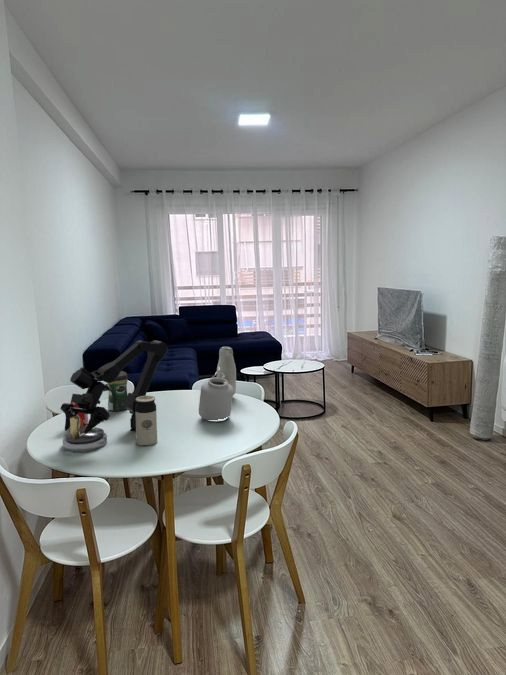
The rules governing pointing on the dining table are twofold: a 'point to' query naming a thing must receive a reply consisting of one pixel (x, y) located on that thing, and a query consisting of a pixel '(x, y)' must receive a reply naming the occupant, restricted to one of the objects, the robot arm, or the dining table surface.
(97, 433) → the dial
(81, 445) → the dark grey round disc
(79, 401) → the robot arm
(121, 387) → the coffee jar
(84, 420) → the soda can
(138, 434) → the travel mug
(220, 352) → the grey bottle
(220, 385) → the jar
